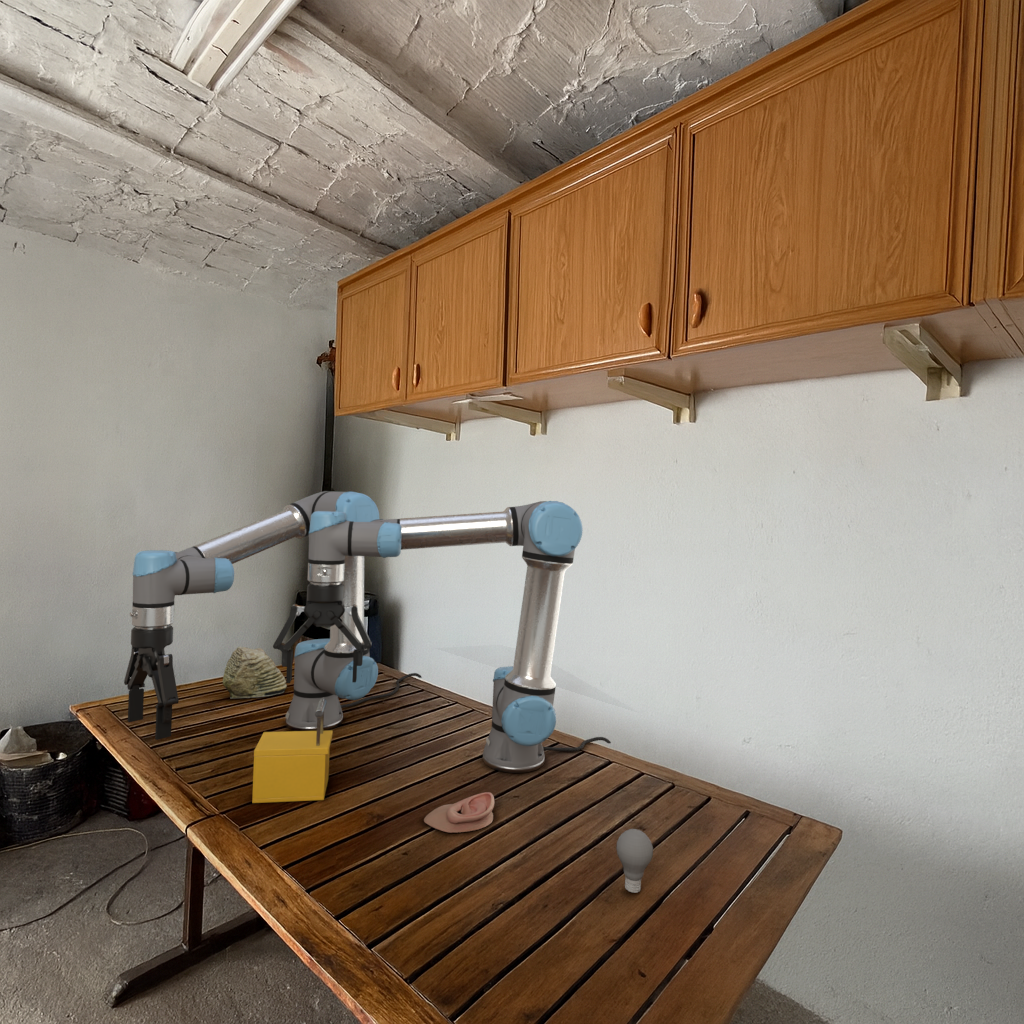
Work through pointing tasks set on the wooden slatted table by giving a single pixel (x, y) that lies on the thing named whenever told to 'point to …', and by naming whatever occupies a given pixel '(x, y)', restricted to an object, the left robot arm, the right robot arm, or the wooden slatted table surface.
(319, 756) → the chest
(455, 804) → the anatomical model
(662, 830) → the wooden slatted table surface
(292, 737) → the lid
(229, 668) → the fossil
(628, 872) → the light bulb
